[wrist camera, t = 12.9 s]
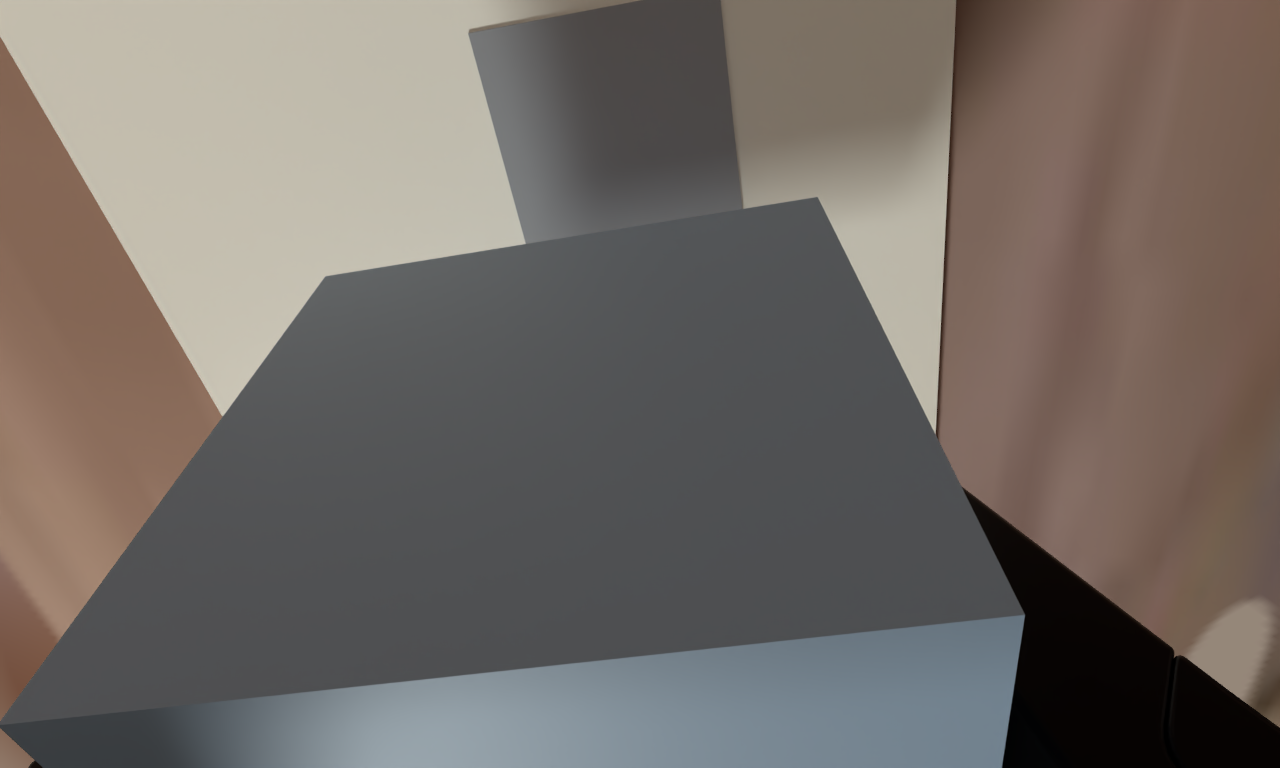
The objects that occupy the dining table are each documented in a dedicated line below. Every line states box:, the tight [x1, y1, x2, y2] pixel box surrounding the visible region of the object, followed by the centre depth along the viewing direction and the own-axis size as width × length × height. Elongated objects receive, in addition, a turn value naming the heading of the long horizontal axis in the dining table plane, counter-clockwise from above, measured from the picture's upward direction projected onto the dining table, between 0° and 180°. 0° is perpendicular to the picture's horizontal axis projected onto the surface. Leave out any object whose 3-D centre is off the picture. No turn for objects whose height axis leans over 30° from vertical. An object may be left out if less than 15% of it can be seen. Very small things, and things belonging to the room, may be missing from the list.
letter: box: [0, 0, 956, 434], centre depth 13 cm, size 12×16×1 cm
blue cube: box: [0, 197, 1025, 768], centre depth 7 cm, size 5×5×5 cm
